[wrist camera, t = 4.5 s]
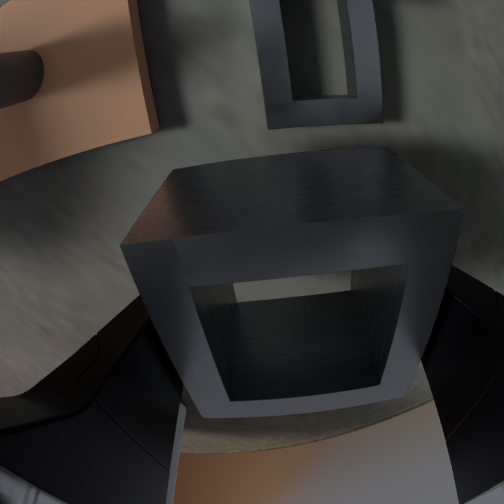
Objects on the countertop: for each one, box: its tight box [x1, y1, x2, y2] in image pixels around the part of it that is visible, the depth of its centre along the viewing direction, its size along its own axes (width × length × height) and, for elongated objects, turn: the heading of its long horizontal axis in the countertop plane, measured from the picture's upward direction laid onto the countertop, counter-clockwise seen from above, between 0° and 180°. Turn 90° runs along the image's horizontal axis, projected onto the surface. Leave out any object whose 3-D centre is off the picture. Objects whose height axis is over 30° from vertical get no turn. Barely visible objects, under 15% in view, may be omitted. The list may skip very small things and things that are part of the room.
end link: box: [120, 147, 463, 418], centre depth 8 cm, size 6×6×4 cm
